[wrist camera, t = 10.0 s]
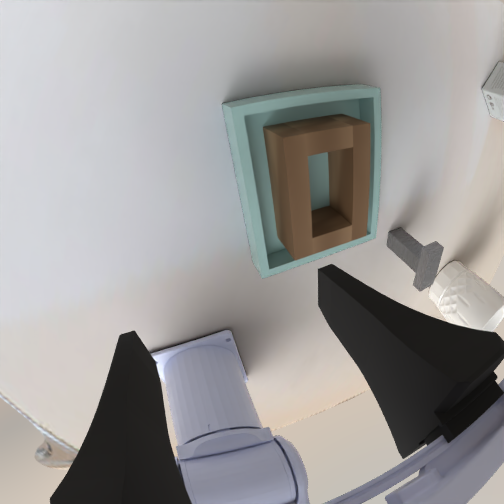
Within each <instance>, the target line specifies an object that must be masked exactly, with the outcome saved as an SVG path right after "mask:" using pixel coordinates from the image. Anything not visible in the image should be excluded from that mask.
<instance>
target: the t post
mask: <svg viewBox="0 0 504 504" xmlns="http://www.w3.org/2000/svg"><path fill="white" fill-rule="evenodd" d="M387 247H389V248H390V249H391V250H392V251H393V252H394V253H395V254H396V255H397V256H398V257H399V258H401V259H402V260H403V261H404V262H405V263H406V264H407V265H408V266H409V267H410V268H411V269H412V270H413V271H414V272H415V273H416V275H415V279H414V283H413V285H414V286H415V287H416V288H417V289H418V290H419V291H422V290H424V289H425V288H427V287H429V286H431V285H433V283H434V280H435V277H436V273H437V270H438V267H439V263H440V260H441V256H442V252H443V249H444V247H443V246H442V245H440V244H439V243H438V242H437V241H435V242H433V243H431V244H428V245H426V246H423V245H422V244H421V243H419V242H418V241H417V240H416V239H414V238H413V237H412V236H411V235H410V234H408V233H407V232H406V231H405V230H403V229H402V228H398V229H396V230H393V231H391V232H389V234H388V241H387Z"/></svg>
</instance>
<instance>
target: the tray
mask: <svg viewBox="0 0 504 504" xmlns="http://www.w3.org/2000/svg"><path fill="white" fill-rule="evenodd" d="M222 108H223V113H224V118H225V123H226V128H227V133H228V139H229V144H230V149H231V154H232V159H233V164H234V169H235V174H236V179H237V184H238V189H239V195H240V200H241V205H242V210H243V215H244V220H245V225H246V230H247V235H248V240H249V245H250V250H251V255H252V260H253V263H254V265H255V267H256V268H257V270H258V272H259V274H260V276H261V278H262V279H263V278H266V277H269V276H272V275H275V274H278V273H280V272H283V271H286V270H289V269H292V268H295V267H298V266H300V265H303V264H306V263H309V262H312V261H314V260H317V259H320V258H323V257H326V256H328V255H331V254H334V253H337V252H339V251H342V250H345V249H348V248H350V247H353V246H356V245H358V244H361V243H364V242H367V241H369V240H372V239H375V238H376V231H377V220H378V208H379V193H380V173H381V94H380V88H378V87H373V86H368V85H363V84H354V85H340V86H329V87H319V88H310V89H302V90H294V91H287V92H280V93H274V94H268V95H262V96H257V97H251V98H246V99H241V100H236V101H232V102H227V103H222ZM335 114H345V115H348V116H351V117H354V118H357V119H360V120H363V121H365V122H368V123H370V188H369V208H368V223H367V235H366V236H364V237H362V238H359V239H356V240H353V241H350V242H348V243H345V244H342V245H339V246H336V247H333V248H330V249H328V250H325V251H322V252H319V253H316V254H313V255H310V256H307V257H304V258H302V259H299V260H296V261H295V260H294V259H293V257H292V256H291V255H290V253H289V252H288V251H287V249H286V248H285V247H284V245H283V244H282V243H281V241H280V240H279V239H278V237H277V230H276V222H275V214H274V206H273V199H272V191H271V183H270V176H269V169H268V161H267V154H266V147H265V140H264V133H263V127H265V126H270V125H275V124H280V123H285V122H291V121H296V120H302V119H308V118H314V117H321V116H328V115H335ZM308 167H309V182H310V198H311V211H312V210H316V209H319V208H323V207H326V206H330V203H329V169H328V152H326V153H321V154H316V155H311V156H308Z"/></svg>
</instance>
